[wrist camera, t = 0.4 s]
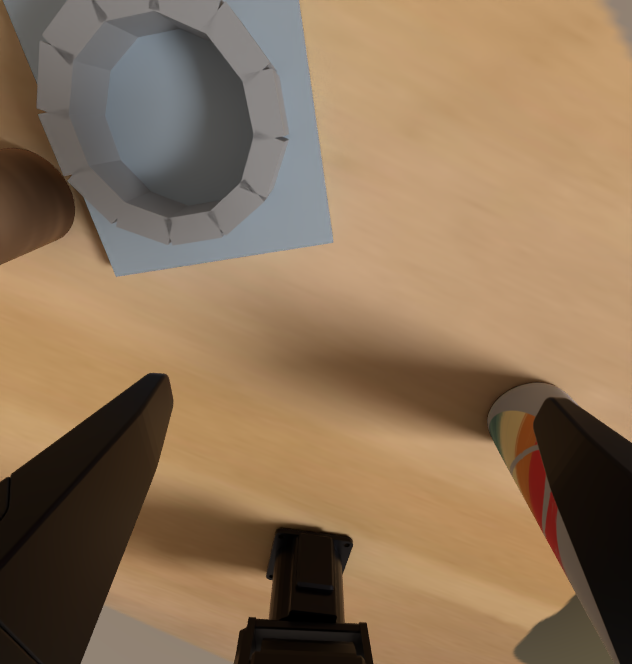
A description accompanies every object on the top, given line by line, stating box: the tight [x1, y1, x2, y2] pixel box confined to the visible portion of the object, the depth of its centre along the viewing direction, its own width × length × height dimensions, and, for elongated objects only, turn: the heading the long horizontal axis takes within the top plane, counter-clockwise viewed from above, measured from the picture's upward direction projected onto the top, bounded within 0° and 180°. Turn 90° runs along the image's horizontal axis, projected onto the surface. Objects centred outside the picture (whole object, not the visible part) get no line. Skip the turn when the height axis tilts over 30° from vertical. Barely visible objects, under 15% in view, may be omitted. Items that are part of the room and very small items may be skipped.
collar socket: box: [3, 0, 333, 277], centre depth 18 cm, size 13×12×4 cm
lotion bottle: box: [487, 383, 620, 664], centre depth 19 cm, size 6×6×20 cm
